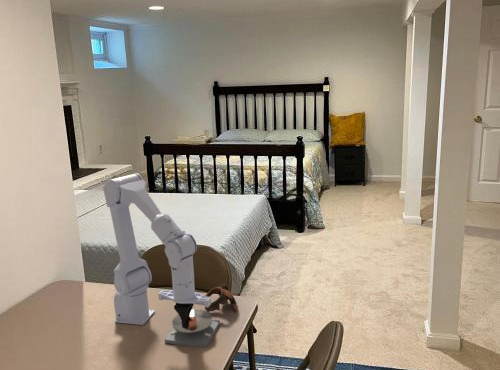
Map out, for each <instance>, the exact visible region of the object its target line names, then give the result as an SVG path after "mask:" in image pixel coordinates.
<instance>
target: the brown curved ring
mask: <svg viewBox="0 0 500 370" xmlns="http://www.w3.org/2000/svg"><path fill="white" fill-rule="evenodd" d="M215 293H216V294H217V295H218V296H219V297H218V298H217V299H215V300H214V301H211V305H210V306H209V307H205V306H204V311H206V312H208V313H210V312H214V311H221V309H220V305H228V304H230V305H233V306H232V307H233V309H234V312H235V313H237V312H238V308H239V307H238V304H237V301H236V299H235V296H234V295H233V293H231V291H229V287H228V285H227V284H225V283H222V284H220V285H219V286H216V287H213V288H211V289H210V290H209V291H208V292H207V293H206V294H205V295H204V296H207V297H211V296H213V295H214V294H215Z"/></svg>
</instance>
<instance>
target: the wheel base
mask: <svg viewBox="0 0 500 370" xmlns="http://www.w3.org/2000/svg"><path fill="white" fill-rule="evenodd" d="M220 325H221V320H219V319H218V320H217V319H212V324H211V326H210V327H209V328H207V329H206V330H204V331H201V332H198V333H193V334H184V333H180V332H177V331H176V330H175V329H174V328H173V327H172V329H171V330H170V331H169V333H168V334H167V336H166V337H165V339H164V344H172V345H178V346H179V345H180V346H181V345H182V346H187V347H189V346H190V347H198V348H207V347H208V346H209V344H210V342H211V340H212V338H213V337H214V336H215V333H216V332H217V330H218V328H219V326H220Z"/></svg>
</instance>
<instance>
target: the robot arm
mask: <svg viewBox="0 0 500 370" xmlns="http://www.w3.org/2000/svg"><path fill="white" fill-rule="evenodd" d="M103 193H104V198H105V203H106V207H107V208H109V212H110V215H111V221H112V226H113V230H114V236H115V239H116V240H115V241H116V244H117V250H118V254H119V255H118V256H119V259H120V260H119V261H120V262H119V263H118V264H117V266H116V267H115V268H114V269H113V274H114V275H113V276H114V279H113V285H114V288H115V291H116V292H115V294H114V298H113V305H114V313H115V320H114V323H117V324H118V323H119V324H130V325H131V324H132V325H138V326H139V325H141V326H143V325H145V324H146V322H148V321H149V319H150V318H151V317H152V316H153V315H154V314H155V313H156V311H155V309H150V307H149V298H148V290H147V289H149V288H150V286H149V285H150V283H151V282H152V280H153V279H152V278H153V277H152V273H151V269H150V268H149V266H148V262H147V260H145V259H143V258H140V257H139V252H138V251H139V250H138V247H137V241H136V237H135V233H134V232H135V231H134V227H133V223H132V217H131V211H130V206H131V204H134V205H135V206H136V207H137V208H138V209H139V210H140V212H141V213H142V214H144V216H145V217H146V218H147V219H148V220H149V221H150V222H151V224H150V229H151V230H152V232H153V233H154V234H155V235H156V237H158V239H159V240H160V241H161V243H162V244H163V245H164V253H165V256H166V257H167V260H168V265H169V266H170V271H171V282H172V283H171V284H172V285H171V286H172V290H163V289H162V290H160V292H159V293H158V300H159V301H163V300H164V301H165V300H166V301H167V300H168V301H172V302H174V303H175V304H174V306H173V309H174V310H175V312H176V313H177V315H178V314H179V316H180V318H181V320H182V328H186V329H187V327H188V321H187V319H188V318H189V317H190V313H191V310H193V307H194V305H198V306H204V308H205V307H209V306H210V305H211V303H212V299H211V298H212V297H211V296H210V297H207V296H205V295H203V294H201V293H199V292H196V289H195V287H196V286H195V272H194V270H195V269H194V259H193V258H194V257H193V256H194V254H195V253H196V252H197V249H198V244H197V241H196V239H195V237H194V236H193V235H192V234H191V233H190V232H189V233H188V232H186V231H185V230H181V228H180V227H179V226H178V225H177V223H176V222H175V221H174V220H173V219H172V217H171V216H170V215H169V214H165V213H162V212H161V210H160V208H158V206H157V204H156V203H155V201H154V200H153V198H152V197H151V195H150V194H149V193H148V191H147V182H146V181H145V180H144V178H143V176H142V175H141V174H139V173H138V172H133V173H132V174H129V175H123V176H120V177H115V178H109V179H107V180H106V181H105V183H104V185H103Z"/></svg>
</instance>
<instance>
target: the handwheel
mask: <svg viewBox="0 0 500 370" xmlns="http://www.w3.org/2000/svg"><path fill="white" fill-rule="evenodd" d="M212 320H213V316H212V314H211V313H210V312H209V311H206V310H205V309H192V310H191V313H190V317H189V318H188V319H187V321H188V327H187V329H186V328H182V320H181V318H180V316H179V314H178V313H177V314H176V315H175V316H174V317H173V319H172V329H173V328H174V329H175V330H176V331H177V332H180V333H184V334H193V333H198V332H201V331H204V330H206V329H207V328H209V327H210V326H211V324H212Z"/></svg>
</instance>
